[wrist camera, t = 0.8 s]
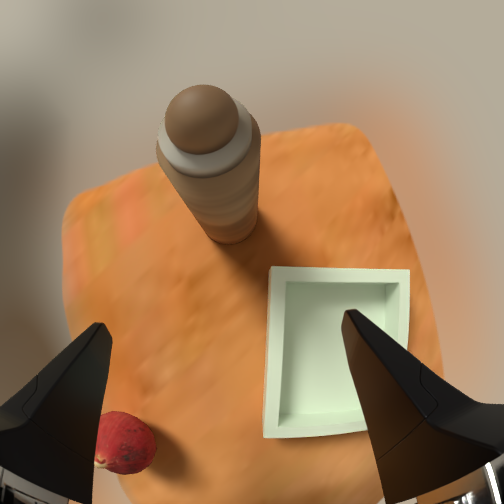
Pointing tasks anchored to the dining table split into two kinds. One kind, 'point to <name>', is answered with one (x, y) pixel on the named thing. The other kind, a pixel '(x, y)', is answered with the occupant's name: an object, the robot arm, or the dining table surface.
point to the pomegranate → (123, 444)
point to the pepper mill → (213, 160)
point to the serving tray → (322, 344)
